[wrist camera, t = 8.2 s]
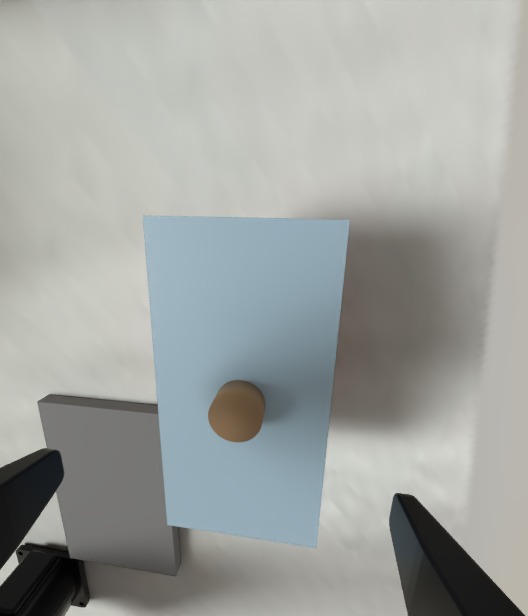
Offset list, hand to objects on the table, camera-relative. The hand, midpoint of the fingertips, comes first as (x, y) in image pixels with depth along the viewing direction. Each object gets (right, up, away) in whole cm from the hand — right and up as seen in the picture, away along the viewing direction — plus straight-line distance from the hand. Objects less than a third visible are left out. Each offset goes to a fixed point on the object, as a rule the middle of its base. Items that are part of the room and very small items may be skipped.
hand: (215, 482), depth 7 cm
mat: (-11, -10, +16) cm, 22 cm away
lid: (+1, +1, +6) cm, 6 cm away
